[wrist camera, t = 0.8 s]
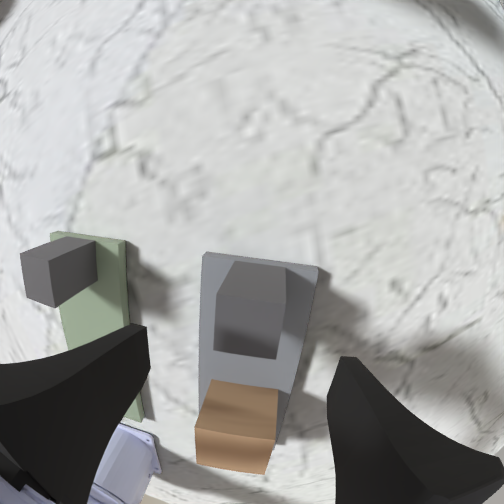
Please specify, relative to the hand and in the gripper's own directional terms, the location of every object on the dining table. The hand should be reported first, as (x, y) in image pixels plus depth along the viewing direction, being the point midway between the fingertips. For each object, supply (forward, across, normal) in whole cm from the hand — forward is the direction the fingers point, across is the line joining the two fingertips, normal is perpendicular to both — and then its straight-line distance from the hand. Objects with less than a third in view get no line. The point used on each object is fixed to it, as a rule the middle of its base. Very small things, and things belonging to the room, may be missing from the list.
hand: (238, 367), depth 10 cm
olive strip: (+9, +13, +8) cm, 17 cm away
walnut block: (+8, 0, +10) cm, 13 cm away
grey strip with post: (+9, 0, +8) cm, 12 cm away
